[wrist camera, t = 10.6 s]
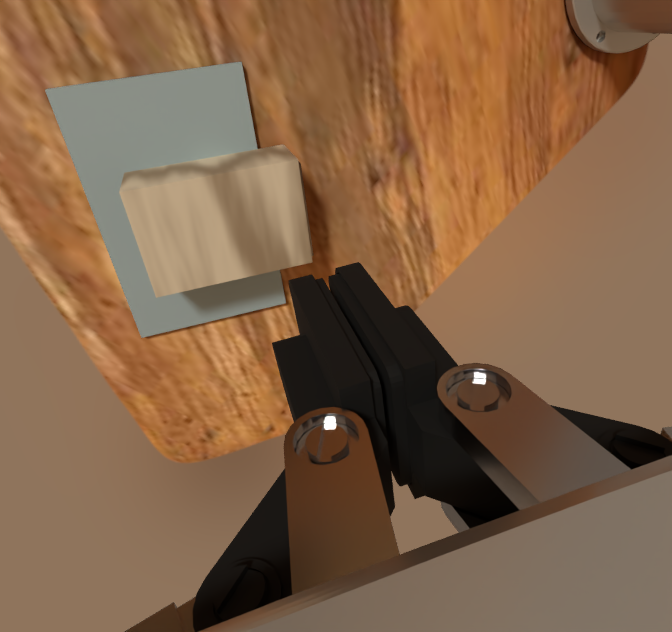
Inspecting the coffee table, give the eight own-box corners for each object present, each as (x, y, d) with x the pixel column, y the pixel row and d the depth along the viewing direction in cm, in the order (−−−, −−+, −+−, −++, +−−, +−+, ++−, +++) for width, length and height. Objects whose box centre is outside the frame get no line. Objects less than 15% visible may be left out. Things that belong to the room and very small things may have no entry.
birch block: (300, 158, 34) (119, 192, 32) (314, 261, 38) (156, 297, 36) (286, 144, 38) (124, 172, 36) (300, 238, 42) (156, 269, 40)
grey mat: (240, 61, 35) (241, 62, 34) (284, 300, 46) (285, 303, 45) (46, 88, 32) (45, 90, 32) (141, 334, 43) (141, 337, 43)
